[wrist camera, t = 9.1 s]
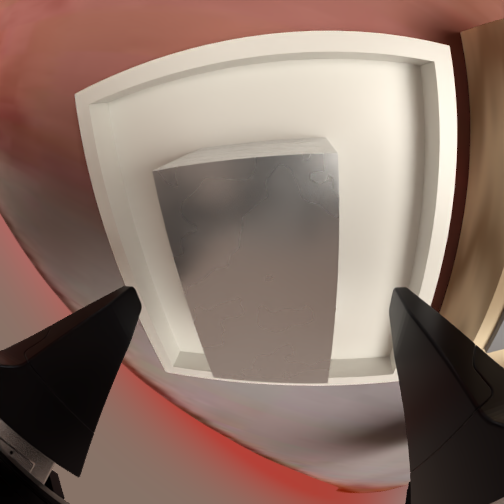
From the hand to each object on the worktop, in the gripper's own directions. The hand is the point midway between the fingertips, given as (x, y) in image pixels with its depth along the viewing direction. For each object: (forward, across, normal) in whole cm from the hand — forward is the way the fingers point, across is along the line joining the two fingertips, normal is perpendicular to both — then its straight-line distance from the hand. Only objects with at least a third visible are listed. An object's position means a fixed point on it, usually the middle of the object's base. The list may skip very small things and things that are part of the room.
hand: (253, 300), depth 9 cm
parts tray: (+5, 0, 0) cm, 5 cm away
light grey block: (+4, 0, 0) cm, 4 cm away
